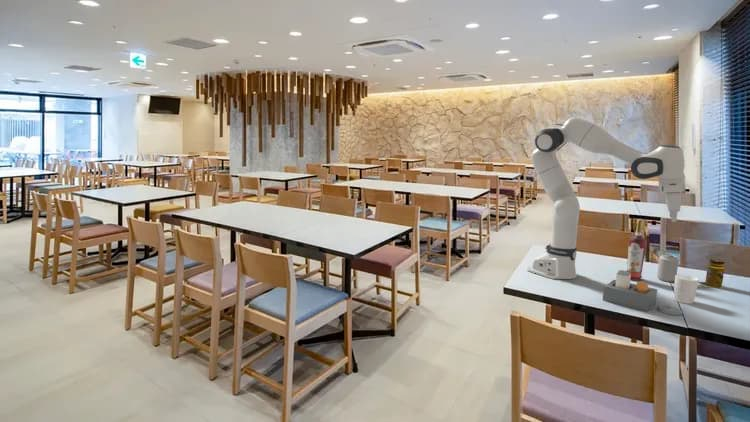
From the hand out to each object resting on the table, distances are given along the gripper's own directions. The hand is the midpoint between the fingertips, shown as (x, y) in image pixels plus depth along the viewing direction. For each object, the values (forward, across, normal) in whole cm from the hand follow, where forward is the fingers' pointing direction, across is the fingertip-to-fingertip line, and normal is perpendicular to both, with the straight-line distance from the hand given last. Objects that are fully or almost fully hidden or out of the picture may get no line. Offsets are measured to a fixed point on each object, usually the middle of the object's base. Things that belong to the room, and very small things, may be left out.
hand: (673, 219), depth 177 cm
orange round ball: (+27, +15, -12) cm, 33 cm away
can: (+34, -28, -2) cm, 44 cm away
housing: (+31, +14, -17) cm, 38 cm away
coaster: (+33, +17, -3) cm, 37 cm away
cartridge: (+30, +13, -20) cm, 39 cm away
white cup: (+34, 0, +2) cm, 34 cm away
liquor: (+32, -21, -16) cm, 41 cm away
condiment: (+36, -29, +14) cm, 49 cm away
